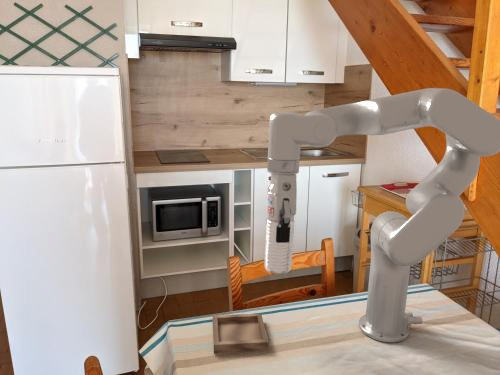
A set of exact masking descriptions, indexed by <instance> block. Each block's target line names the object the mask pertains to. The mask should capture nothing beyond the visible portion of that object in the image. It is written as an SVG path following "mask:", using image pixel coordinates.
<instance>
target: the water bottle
mask: <svg viewBox="0 0 500 375" xmlns="http://www.w3.org/2000/svg"><path fill="white" fill-rule="evenodd" d="M269 184H270V183H269ZM286 187H287V186H286ZM266 212H267V213H266V223H265V244H264V246H265V247H264V269H265V270H266V271H267V272H268V273H271V274H274V275H275V274H276V275H282V274H287V273H289V272H290V271H291V269H292V263H293V248H294V247H293V246H294V232H295V231H294V230H295V215H292V214H291V213H290V215H291V218H290V240H289V242H288V243H277V242H276V227H277V226H278V215H276V214H275V211H274V188H273V185H272V183H271V184H270V185H269V186H268V187H267V211H266ZM290 212H291V211H290ZM280 214H284V211H283V210H280ZM282 218H284V217H281V220H282Z"/></svg>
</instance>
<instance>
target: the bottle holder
mask: <svg viewBox="0 0 500 375" xmlns="http://www.w3.org/2000/svg"><path fill="white" fill-rule="evenodd" d="M265 327H266V326H265V323H264V318H263V314H262V313H261V312H259V313H243V314H242V313H236V314H219V315H218V314H217V315H215V314H214V315H212V337H213V338H212V339H213V342H212V343H213V354H225V353H226V354H228V353H229V354H231V353H245V352H246V353H249V352H263V351H264V352H266V351H269V342H270V341H269V339H268V335H267V331H266V328H265Z"/></svg>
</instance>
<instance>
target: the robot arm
mask: <svg viewBox="0 0 500 375" xmlns="http://www.w3.org/2000/svg"><path fill="white" fill-rule="evenodd" d="M268 123H269V124H268V144H267V145H268V146H267V148H268V149H267V166H266V167H267V168H266V172H268V173H270V181H269V182H270V183H269V184H271V183H272V185H273V188H274V211H275V214H276V215H278V226H277V227H276V242H277V243H288V242H289V240H290V218H291V215H290V213H291V214H292V215H294V216H296V214H297V199H298V198H297V197H298V196H297V191H298V190H297V188H298V187H297V175H298V174H299V172H300V159H301V146H302V145H303V146H309V147H314V148H323V147H324V148H325V147H327V146H329V145H331V144H332V143H334V141H335V140H336V138H337V137H341V136H348V135H365V136H383V135H384V136H385V135H389V134H390V135H391V134H395V133H399V132H403V131H408V130H414V129H420V128H425V127H431V128H436V129H438V130H439V131H440V132H442V133H443V134H445V140H446V141H445V142H446V144H445V145H446V147H445V153H444V155H443V158H442V159H441V161H440V162H439V163H438V164H437V165H436V166H435V167H434V168H433V170H431V171H430V172H429V173H428V174H426V176H425V177H423V179H421V180H420V182H419V183H417V184H416V185H415V186H414V187H413V188H412V189H411V190H410V191H409V192H408V194H407V195H406V198H405V207H406V209H407V210H408V212H409V213H410V214H411V216H410V217H409V218H408V217H407V216H405V215H404V214H402V213H400V212H399V211H398V212H397V211H392V210H389V211H385V212H382V213H380V214H379V215H377V216H376V217H375V219H374V220H373V222H372V223H371V224H372V225H371V228H370V264H369V265H370V266H369V277H368V286H367V296H366V297H367V298H366V307H365V308H366V310H365V311H366V312H365V314H363V315H362V316H361V317H360V318H359V322H358V327H359V328H360V331H361V332H362V333H363V334H364V335H366V336H368V337H369V338H371V339H373V340H374V341H375V340H376V341H379V342H385V343H398V342H403V341H405V340H406V339H407V338H408V337H409V335H410V326H411V325H422V324H423V318H422V316H419V315H418V316H414V315H413V312H406V307H407V306H406V305H407V298H408V291H409V290H408V289H409V279H410V272H411V266H415V265H417V264H419V263H420V262H422V261H423V260H425V259H426V258H427V257H428V256H430V255H431V254H432V253H433V252H434V251H435V250H436V249H438V247H440V246H441V245H442V244H443V243H444V242H445V241H446V240H448V239H449V238H450V236H452V235H453V234H454V233H455V232H456V231H457V230H458V229H459V227H460V226H461V224H462V222H463V220H464V217H465V212H466V211H465V210H466V209H465V205H464V202H463V201H462V199H461V197H460V196H461V195H462V194H463V193H464V192H465V191H466V190H467V188H469V186H471V185H472V183H473V182H474V180H475V179H476V177H478V176H477V175H478V173H479V170H480V165H481V157H491V156H495V155H496V154H498V153H500V119H499V118H498V117H497V116H495V115H493V114H492V113H491V112H489V111H488V110H486V109H484V108H482V107H481V106H480V105H478V104H477V103H475V102H473V101H472V100H470V99H469V98H468V97H466V96H464V94H461V93H460V92H458V91H457V90H454V89H450V88H441V87H440V88H439V87H431V88H429V87H427V88H423V89H422V88H421V89H418V90H413V91H408V92H402V93H396V94H393V95H386V96H383V97H376V98H372V99H367V100H362V101H358V102H353V103H347V104H340V105H335V106H329V107H324V108H319V109H315V110H311V111H308V112H306V113H305V114H304V115H300V114H299V113H296V112H288V111H287V112H286V111H281V112H274V113H271V115H270V116H269V122H268ZM286 186H287V187H286ZM280 210H283V211H284V214H280ZM290 211H291V212H290ZM281 217H284V218H282V220H281Z"/></svg>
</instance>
